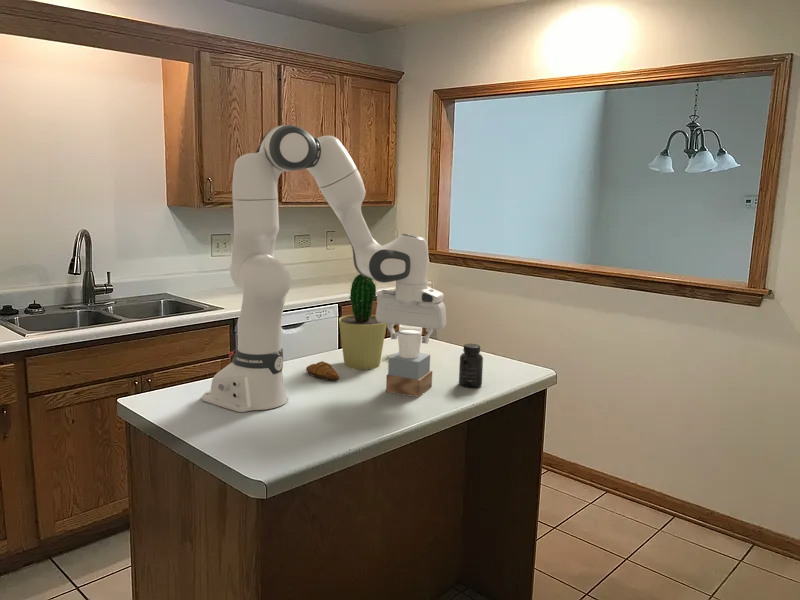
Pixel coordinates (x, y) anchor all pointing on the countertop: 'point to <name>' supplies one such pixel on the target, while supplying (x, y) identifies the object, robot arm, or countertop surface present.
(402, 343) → the white piece
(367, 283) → the potted cactus
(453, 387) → the countertop surface
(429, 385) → the bottom block
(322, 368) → the croissant
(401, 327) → the white cup
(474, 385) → the supplement bottle
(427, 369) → the top block
